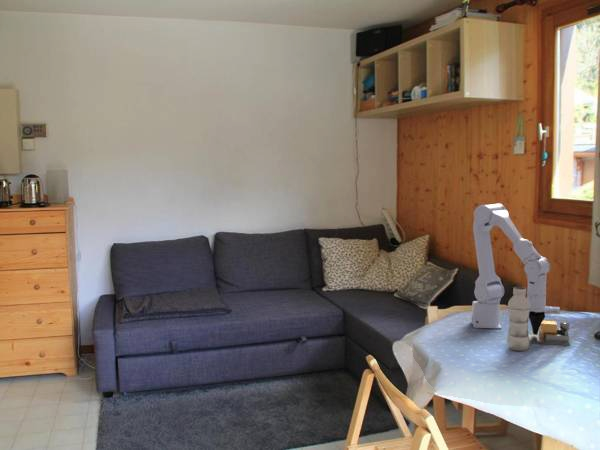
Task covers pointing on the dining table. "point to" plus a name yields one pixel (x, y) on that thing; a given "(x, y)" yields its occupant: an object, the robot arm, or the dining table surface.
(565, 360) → the dining table surface
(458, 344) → the dining table surface
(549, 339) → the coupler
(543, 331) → the block
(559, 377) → the dining table surface
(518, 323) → the plastic bottle
